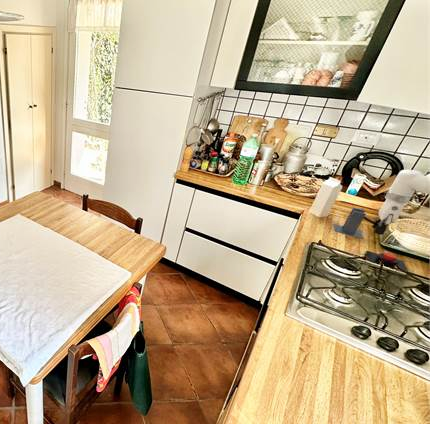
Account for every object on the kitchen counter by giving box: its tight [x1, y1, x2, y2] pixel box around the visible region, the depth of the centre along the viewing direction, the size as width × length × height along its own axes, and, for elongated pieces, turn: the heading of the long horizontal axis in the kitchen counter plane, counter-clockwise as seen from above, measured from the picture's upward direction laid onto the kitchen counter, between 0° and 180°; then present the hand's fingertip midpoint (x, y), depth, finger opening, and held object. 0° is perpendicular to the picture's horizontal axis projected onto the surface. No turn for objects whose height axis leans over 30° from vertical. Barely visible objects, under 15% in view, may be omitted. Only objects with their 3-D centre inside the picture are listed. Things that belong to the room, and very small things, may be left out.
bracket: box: [333, 207, 367, 240], centre depth 151 cm, size 11×9×13 cm
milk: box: [308, 176, 343, 218], centre depth 164 cm, size 6×6×22 cm
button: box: [383, 252, 397, 261], centre depth 129 cm, size 4×4×2 cm
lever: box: [356, 210, 380, 226], centre depth 147 cm, size 12×5×2 cm, turn 53°
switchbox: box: [363, 250, 409, 273], centre depth 130 cm, size 12×10×4 cm
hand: (377, 230), depth 146 cm, fingers closed on lever, 5 cm apart
